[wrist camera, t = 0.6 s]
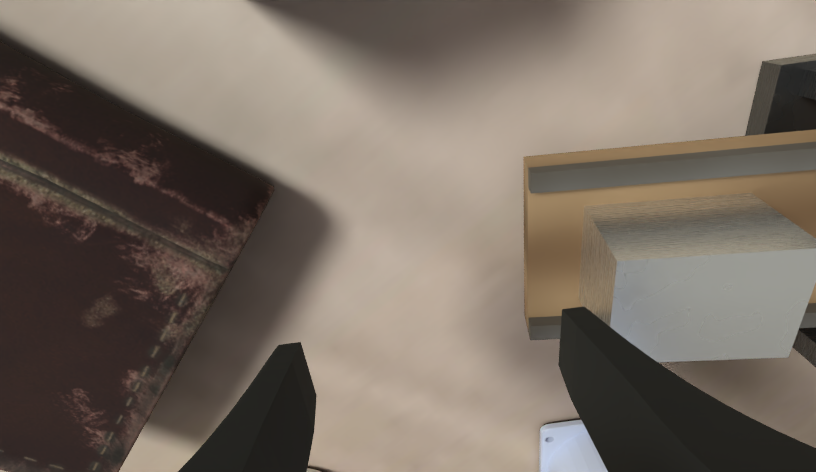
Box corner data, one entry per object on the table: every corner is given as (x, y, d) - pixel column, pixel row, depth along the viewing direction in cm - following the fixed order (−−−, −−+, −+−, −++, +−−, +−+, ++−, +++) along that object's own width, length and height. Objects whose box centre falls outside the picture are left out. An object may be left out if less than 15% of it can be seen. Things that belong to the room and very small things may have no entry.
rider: (727, 288, 19) (788, 357, 16) (578, 297, 20) (606, 364, 17) (751, 192, 17) (828, 247, 14) (584, 205, 18) (616, 261, 14)
